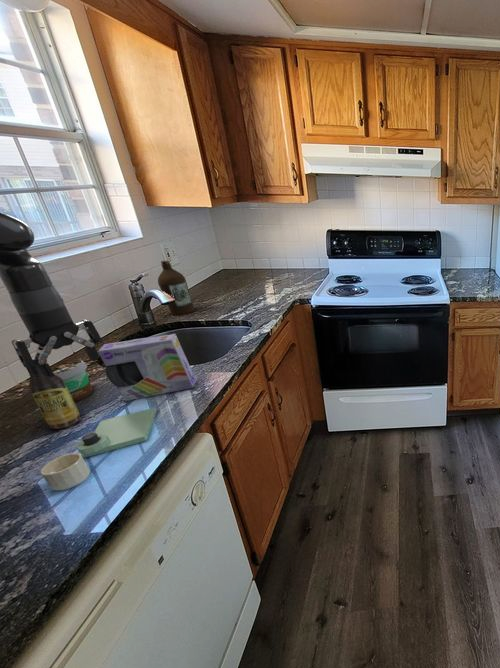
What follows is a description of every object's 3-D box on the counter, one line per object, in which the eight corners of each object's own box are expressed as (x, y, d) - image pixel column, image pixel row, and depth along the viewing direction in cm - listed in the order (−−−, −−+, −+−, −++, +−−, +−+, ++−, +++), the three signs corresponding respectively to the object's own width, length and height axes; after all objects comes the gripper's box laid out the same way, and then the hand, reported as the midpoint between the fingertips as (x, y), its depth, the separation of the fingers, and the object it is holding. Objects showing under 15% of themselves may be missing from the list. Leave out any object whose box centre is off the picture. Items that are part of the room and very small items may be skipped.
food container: (58, 411, 105) (40, 381, 100) (46, 407, 107) (28, 378, 102) (107, 388, 115) (93, 361, 111) (95, 385, 117) (81, 358, 113)
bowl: (46, 496, 77) (34, 479, 75) (59, 476, 82) (48, 459, 80) (86, 484, 79) (75, 467, 77) (95, 465, 85) (85, 449, 82)
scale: (78, 462, 86) (73, 452, 85) (99, 425, 98) (94, 416, 97) (145, 443, 91) (140, 434, 90) (156, 411, 103) (152, 402, 102)
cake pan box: (119, 402, 108) (92, 350, 100) (126, 393, 112) (101, 342, 104) (193, 389, 113) (173, 338, 106) (197, 381, 118) (178, 332, 110)
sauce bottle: (47, 433, 96) (6, 368, 87) (55, 421, 100) (16, 358, 92) (80, 424, 99) (44, 360, 90) (86, 413, 104) (52, 351, 95)
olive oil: (165, 313, 176) (145, 262, 165) (188, 306, 184) (171, 257, 173) (177, 317, 171) (157, 264, 160) (200, 309, 179) (183, 259, 169)
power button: (83, 447, 86) (80, 440, 86) (87, 441, 89) (83, 434, 88) (97, 443, 88) (94, 437, 87) (101, 437, 90) (97, 431, 89)
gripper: (71, 295, 91) (99, 353, 98) (-11, 315, 79) (27, 379, 86) (87, 299, 88) (115, 358, 95) (4, 319, 76) (43, 385, 83)
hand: (73, 368), depth 90 cm, fingers open, 8 cm apart
